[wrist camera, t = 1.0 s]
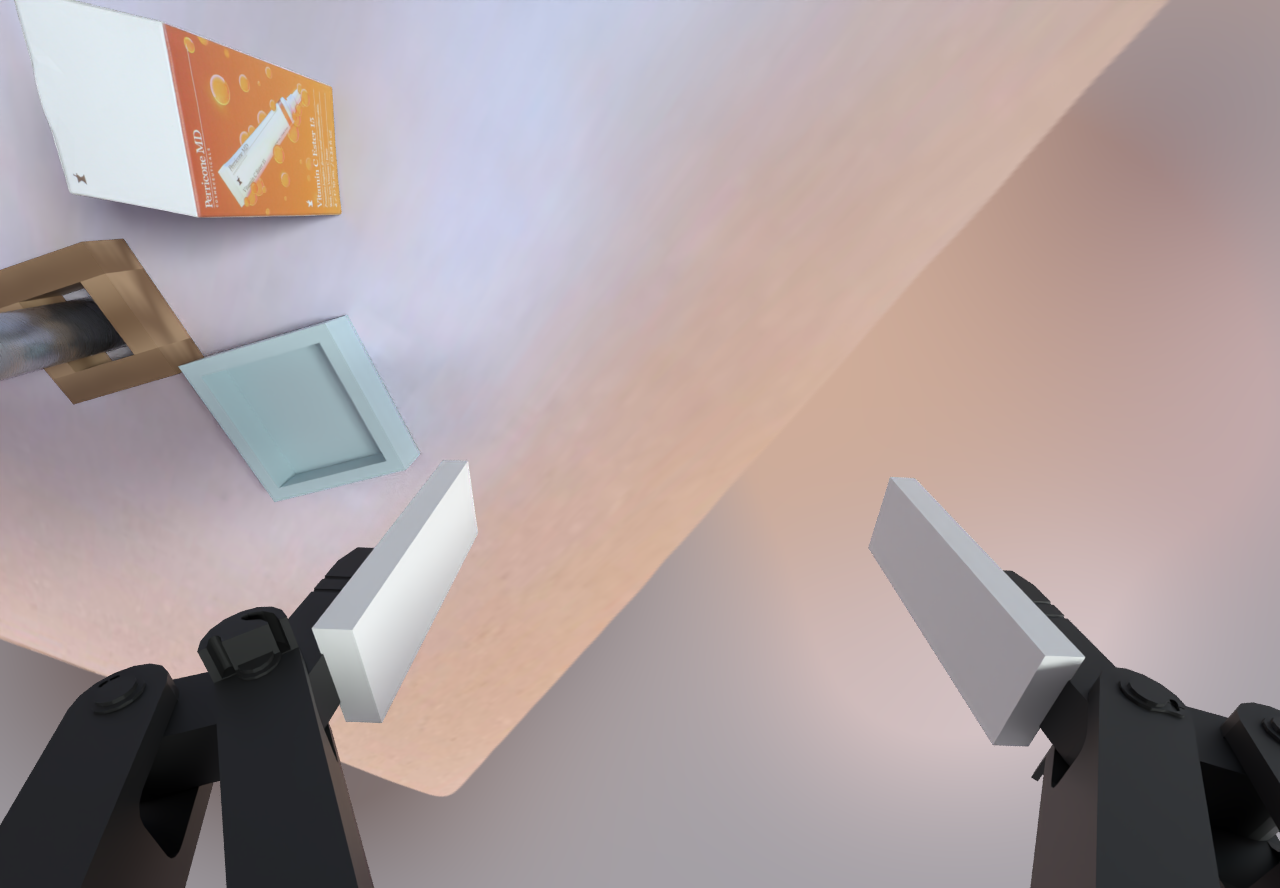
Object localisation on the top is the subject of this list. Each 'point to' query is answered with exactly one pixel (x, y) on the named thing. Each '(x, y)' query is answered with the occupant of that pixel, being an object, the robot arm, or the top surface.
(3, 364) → the pin
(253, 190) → the small box
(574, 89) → the top surface
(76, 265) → the socket block
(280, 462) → the tray
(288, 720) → the robot arm
